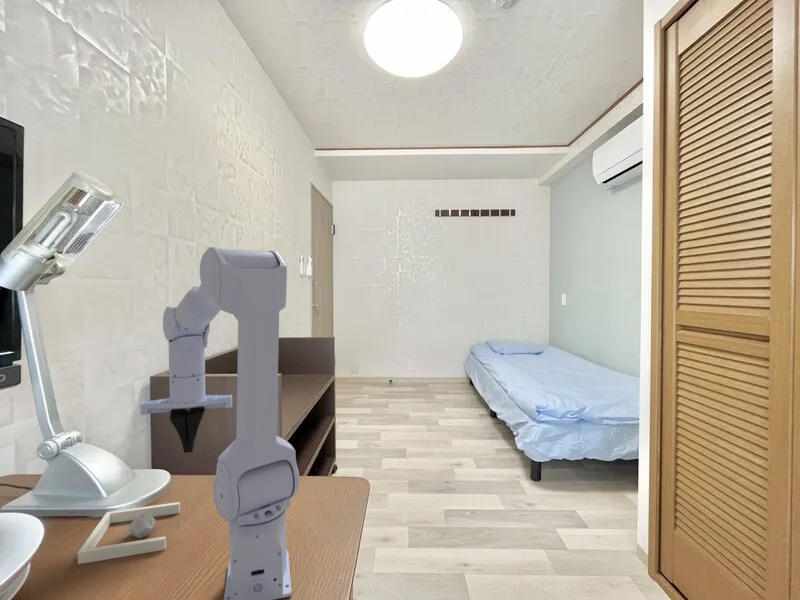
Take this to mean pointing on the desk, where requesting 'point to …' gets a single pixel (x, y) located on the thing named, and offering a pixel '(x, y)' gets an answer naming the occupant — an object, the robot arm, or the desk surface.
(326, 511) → the desk surface
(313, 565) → the desk surface
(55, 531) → the desk surface
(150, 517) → the game die
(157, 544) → the bay
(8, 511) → the desk surface
